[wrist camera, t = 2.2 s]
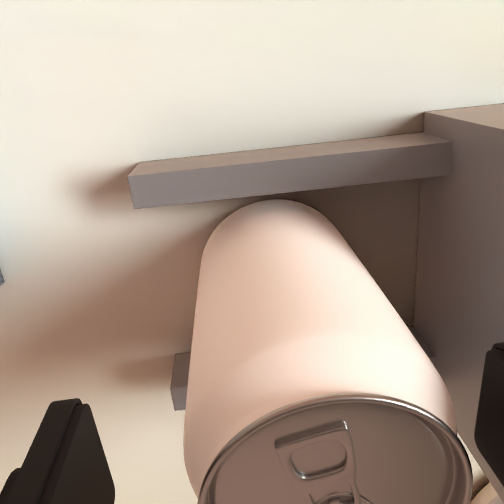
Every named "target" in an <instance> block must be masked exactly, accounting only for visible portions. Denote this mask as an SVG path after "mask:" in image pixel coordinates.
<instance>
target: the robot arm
mask: <svg viewBox="0 0 504 504" xmlns="http://www.w3.org/2000/svg"><path fill="white" fill-rule="evenodd" d="M474 439H475V443H476V446H477V448H478V450H479V452H480V453H481V455H482V456H483V457H484V459H485V460H486V462H487V463H488V465H489V466H490V468H491V469H492V471H493V472H494V474H495V475H496V477H497V478H498V479H499V481H500V482H501V484H502V485H503V487H504V342H500V343H495V344H494V345H493V346H492V349H491V350H489V351H487V353H486V356H485V363H484V369H483V376H482V383H481V390H480V397H479V404H478V410H477V417H476V424H475V431H474ZM114 501H115V487H114V483H113V480H112V476H111V473H110V470H109V467H108V463H107V460H106V457H105V454H104V450H103V447H102V444H101V441H100V437H99V434H98V431H97V428H96V424H95V421H94V418H93V415H92V411H91V408H90V406H89V405H88V404H82V402H81V400H80V399H78V398H76V399H68V400H61V401H53V402H52V403H51V404H50V405H49V407H48V409H47V411H46V414H45V416H44V418H43V420H42V423H41V425H40V427H39V429H38V431H37V434H36V436H35V438H34V440H33V443H32V445H31V447H30V449H29V451H28V454H27V456H26V458H25V460H24V463H23V465H22V467H21V468H17V469H15V470H14V471H13V472H11V474H10V476H9V477H8V479H7V481H6V483H5V485H4V487H3V489H2V491H1V494H0V504H114ZM470 504H504V503H503V502H502V500H501V498H500V497H499V495H498V494H497V492H496V491H495V489H494V488H493V486H492V485H491V483H490V482H489V483H488V484H487V485H486V486H485V487H484V488H483V489H482V490H480V491H479V492H478V494H477V495H476V496H475V498H474V499H473V500H472V501H471V503H470Z"/></svg>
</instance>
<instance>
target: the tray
mask: <svg viewBox="0 0 504 504" xmlns="http://www.w3.org/2000/svg"><path fill="white" fill-rule="evenodd" d="M3 283H4V279H3V276H2V273H1V270H0V286H1V285H2V284H3Z"/></svg>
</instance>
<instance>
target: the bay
mask: <svg viewBox="0 0 504 504" xmlns="http://www.w3.org/2000/svg"><path fill="white" fill-rule="evenodd" d="M127 177H128V182H129V187H130V192H131V197H132V201H133V206H134V209H140V208H149V207H159V206H168V205H177V204H187V203H196V202H205V201H214V200H224V199H233V198H242V197H251V196H261V195H270V194H279V193H288V192H298V191H307V190H316V189H326V188H335V187H344V186H353V185H363V184H372V183H381V182H390V181H400V180H409V179H418V178H421V186H420V205H419V225H418V245H417V264H416V284H415V303H414V323H413V327H408V329H409V330H410V332H411V333H412V335H413V336H414V337H415V339H416V340H417V342H418V343H419V345H420V346H421V348H422V349H423V350H424V352H425V353H426V355H427V356H428V358H429V359H430V361H431V362H432V364H433V365H434V367H435V368H436V370H437V371H438V373H439V375H440V376H441V378H442V380H443V382H444V384H445V386H446V388H447V390H448V392H449V394H450V396H451V399H452V402H453V406H454V410H455V415H456V424H457V432H458V433H459V435H460V437H461V438H462V440H463V441H464V443H465V444H466V446H467V447H468V449H469V451H470V452H471V454H472V455H473V457H474V458H475V460H476V461H477V463H478V464H479V466H480V468H481V469H482V471H483V472H484V474H485V475H486V477H487V478H488V480H489V481H490V483H491V485H492V486H493V488H494V489H495V491H496V492H497V494H498V495H499V497H500V498H501V500H502V502H503V503H504V487H503V485H502V484H501V482H500V481H499V479H498V478H497V477H496V475H495V474H494V472H493V471H492V469H491V468H490V466H489V465H488V463H487V462H486V460H485V459H484V457H483V456H482V455H481V453H480V452H479V450H478V448H477V446H476V443H475V439H474V431H475V424H476V417H477V410H478V404H479V397H480V390H481V383H482V376H483V369H484V363H485V356H486V353H487V351H489V350H491V349H492V346H493V345H494V344H495V343H500V342H504V103H503V104H493V105H484V106H474V107H464V108H455V109H445V110H436V111H426V112H424V127H423V132H420V133H411V134H401V135H392V136H382V137H373V138H364V139H354V140H345V141H335V142H326V143H316V144H307V145H297V146H288V147H278V148H269V149H259V150H250V151H240V152H231V153H221V154H212V155H202V156H193V157H184V158H174V159H165V160H155V161H146V162H139V163H138V164H137V166H136V167H135V168H134V169H133V170H132V171H131V173H130V174H129V175H128V176H127ZM190 357H191V352H190V353H181V354H176V355H175V361H174V368H173V374H172V381H171V387H170V390H171V395H172V400H173V405H174V410H175V411H176V410H185V409H186V399H187V388H188V378H189V368H190Z"/></svg>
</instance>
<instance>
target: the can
mask: <svg viewBox="0 0 504 504" xmlns="http://www.w3.org/2000/svg"><path fill="white" fill-rule="evenodd" d="M183 444H184V460H185V466H186V470H187V474H188V477H189V480H190V483H191V485H192V488H193V490H194V492H195V494H196V496H197V498H198V504H469V503H470V500H471V495H472V488H473V475H472V468H471V463H470V460H469V457H468V454H467V452H466V450H465V448H464V446H463V444H462V443H461V441H460V439H459V438H458V437H457V424H456V415H455V410H454V406H453V402H452V399H451V396H450V394H449V392H448V390H447V388H446V386H445V384H444V382H443V380H442V378H441V376H440V375H439V373H438V371H437V370H436V368H435V367H434V365H433V364H432V362H431V361H430V359H429V358H428V356H427V355H426V353H425V352H424V350H423V349H422V348H421V346H420V345H419V343H418V342H417V340H416V339H415V337H414V336H413V335H412V333H411V332H410V330H409V329H408V327H407V326H406V325H405V323H404V322H403V320H402V319H401V318H400V316H399V315H398V313H397V312H396V310H395V309H394V308H393V306H392V305H391V303H390V302H389V301H388V299H387V298H386V296H385V295H384V294H383V292H382V291H381V289H380V288H379V286H378V285H377V284H376V282H375V281H374V279H373V278H372V277H371V275H370V274H369V272H368V271H367V270H366V268H365V267H364V266H363V264H362V263H361V261H360V260H359V259H358V257H357V256H356V254H355V253H354V252H353V250H352V249H351V247H350V246H349V245H348V243H347V242H346V241H345V239H344V238H343V237H342V235H341V234H340V233H339V231H338V230H337V229H336V227H335V226H334V225H333V224H332V223H331V222H330V221H329V220H328V219H327V218H326V217H325V216H324V215H323V214H321V213H320V212H318V211H317V210H315V209H314V208H312V207H310V206H307V205H305V204H302V203H299V202H295V201H291V200H282V199H273V200H264V201H259V202H255V203H252V204H249V205H246V206H244V207H242V208H240V209H238V210H236V211H235V212H233V213H232V214H230V215H229V216H228V217H226V218H225V219H224V220H223V221H222V222H221V223H220V224H219V225H218V226H217V227H216V229H215V230H214V231H213V233H212V234H211V236H210V238H209V239H208V241H207V244H206V246H205V249H204V252H203V255H202V260H201V266H200V274H199V282H198V291H197V300H196V309H195V319H194V328H193V338H192V348H191V357H190V368H189V378H188V388H187V399H186V410H185V422H184V442H183Z"/></svg>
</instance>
